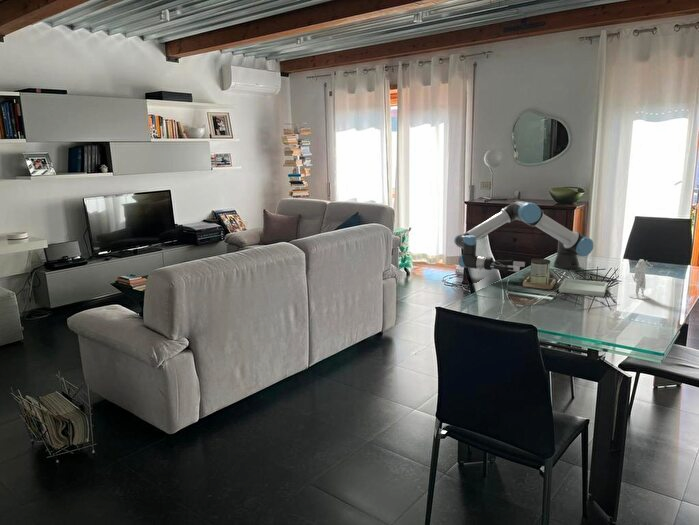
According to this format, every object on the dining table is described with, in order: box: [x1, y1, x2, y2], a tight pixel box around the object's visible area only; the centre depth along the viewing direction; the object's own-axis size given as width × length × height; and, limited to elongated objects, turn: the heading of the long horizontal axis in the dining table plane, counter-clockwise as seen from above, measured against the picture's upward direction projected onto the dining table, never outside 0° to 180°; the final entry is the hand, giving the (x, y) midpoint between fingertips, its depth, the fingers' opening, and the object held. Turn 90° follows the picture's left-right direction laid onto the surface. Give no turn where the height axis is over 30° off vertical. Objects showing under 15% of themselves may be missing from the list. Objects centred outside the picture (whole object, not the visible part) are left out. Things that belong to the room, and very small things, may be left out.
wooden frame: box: [522, 275, 557, 290], centre depth 298 cm, size 15×15×2 cm
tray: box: [558, 278, 608, 298], centre depth 287 cm, size 22×22×2 cm
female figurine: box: [628, 258, 654, 300], centre depth 268 cm, size 11×16×20 cm
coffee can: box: [529, 258, 551, 284], centre depth 297 cm, size 10×10×14 cm
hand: (522, 266), depth 301 cm, fingers open, 13 cm apart
